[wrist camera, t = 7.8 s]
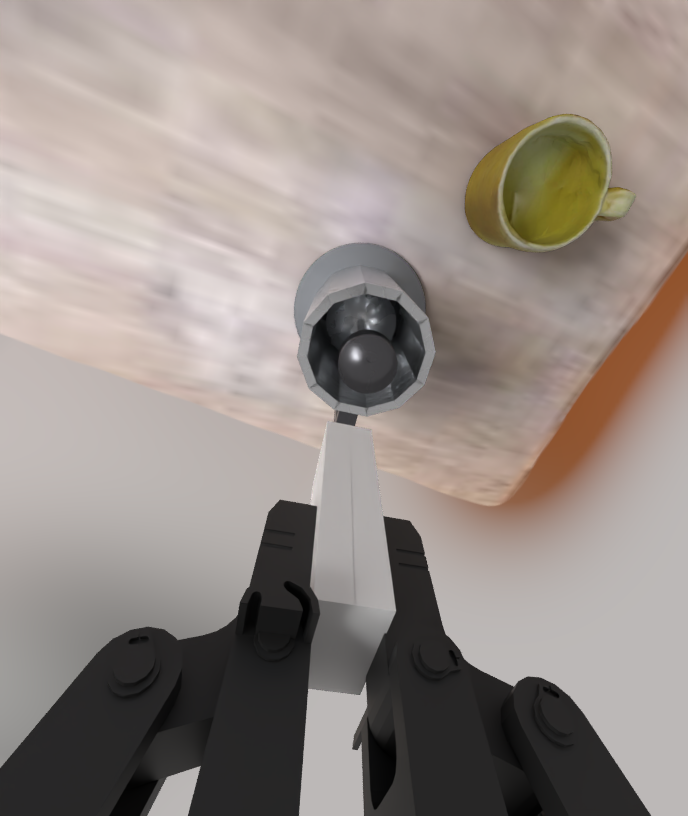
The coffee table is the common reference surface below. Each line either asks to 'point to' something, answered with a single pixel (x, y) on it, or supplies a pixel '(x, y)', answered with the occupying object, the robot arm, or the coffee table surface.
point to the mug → (545, 186)
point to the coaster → (348, 258)
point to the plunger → (364, 341)
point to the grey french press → (323, 355)
